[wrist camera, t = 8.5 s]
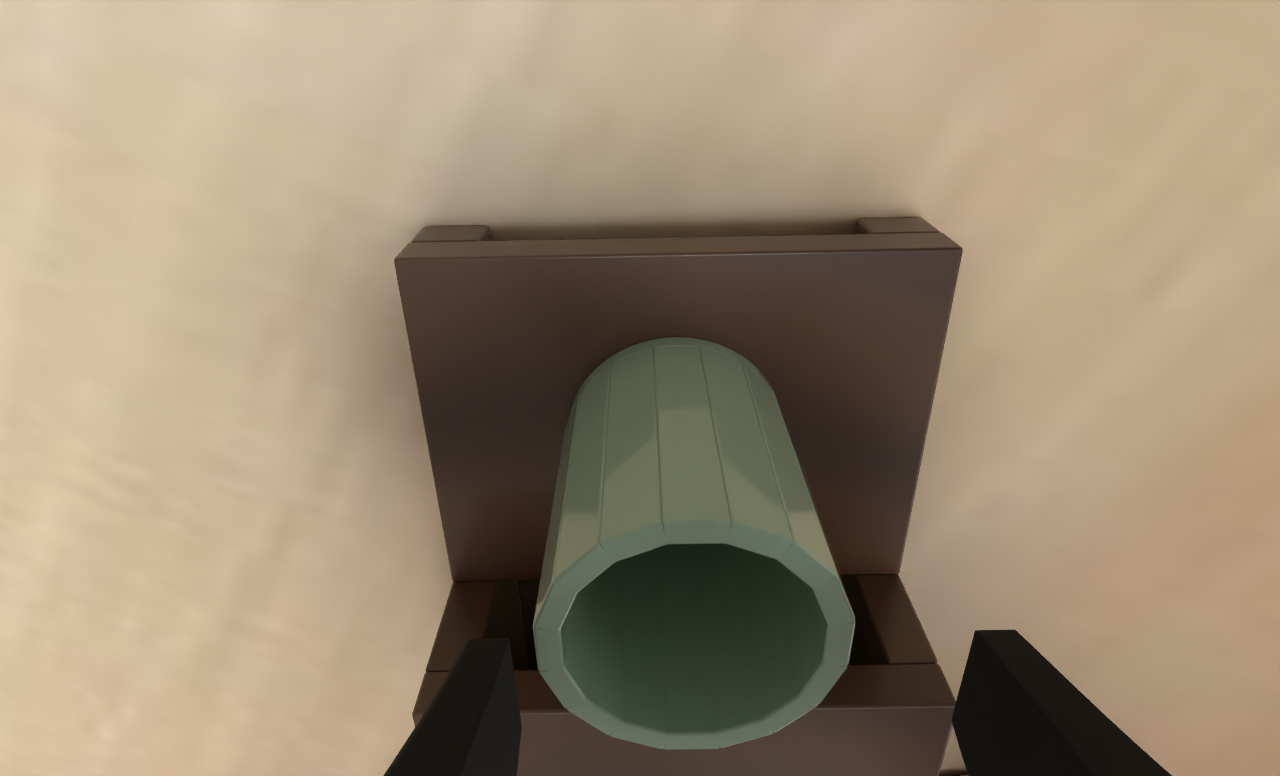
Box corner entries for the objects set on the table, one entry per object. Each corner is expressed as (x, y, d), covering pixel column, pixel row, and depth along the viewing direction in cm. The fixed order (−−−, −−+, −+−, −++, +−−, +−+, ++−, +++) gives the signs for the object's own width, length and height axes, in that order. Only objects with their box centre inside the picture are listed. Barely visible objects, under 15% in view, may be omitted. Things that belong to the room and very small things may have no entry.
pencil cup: (774, 517, 19) (835, 748, 13) (574, 520, 19) (547, 752, 13) (789, 333, 16) (874, 518, 10) (560, 338, 16) (519, 524, 11)
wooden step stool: (839, 718, 26) (898, 926, 20) (502, 723, 26) (464, 932, 20) (923, 216, 18) (1066, 325, 12) (423, 225, 18) (317, 338, 12)
